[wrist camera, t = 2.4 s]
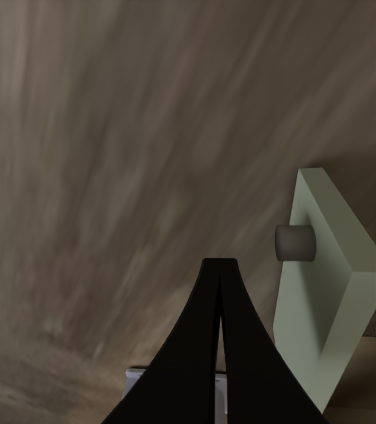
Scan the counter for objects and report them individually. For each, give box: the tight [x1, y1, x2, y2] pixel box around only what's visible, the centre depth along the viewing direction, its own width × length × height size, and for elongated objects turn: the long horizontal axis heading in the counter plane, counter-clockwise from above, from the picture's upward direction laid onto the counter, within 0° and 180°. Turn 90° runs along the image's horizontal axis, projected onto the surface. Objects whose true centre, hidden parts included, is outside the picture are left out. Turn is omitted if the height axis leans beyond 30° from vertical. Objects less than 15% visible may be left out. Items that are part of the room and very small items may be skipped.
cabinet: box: [274, 336, 376, 424], centre depth 20 cm, size 13×11×6 cm
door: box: [273, 168, 376, 413], centre depth 13 cm, size 12×2×6 cm, turn 5°
